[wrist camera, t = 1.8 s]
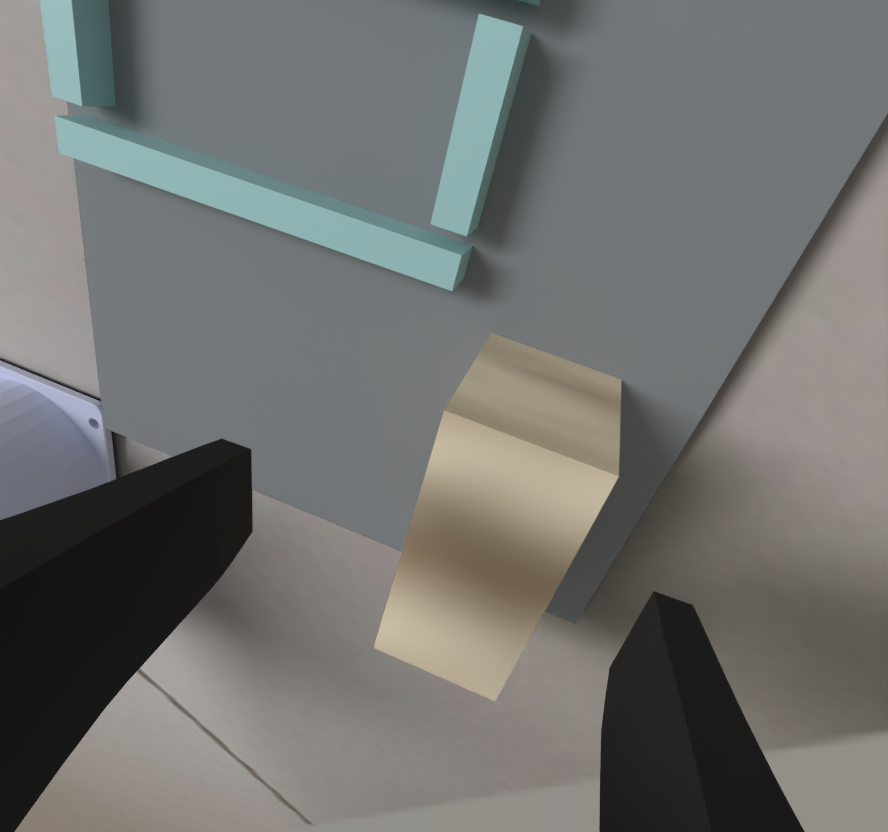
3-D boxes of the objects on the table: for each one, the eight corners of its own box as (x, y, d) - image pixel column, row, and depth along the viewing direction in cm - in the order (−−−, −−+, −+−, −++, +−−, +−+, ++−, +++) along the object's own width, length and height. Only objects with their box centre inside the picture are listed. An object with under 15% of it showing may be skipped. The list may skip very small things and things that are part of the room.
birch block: (522, 581, 21) (495, 701, 16) (424, 540, 21) (373, 647, 17) (621, 379, 16) (618, 476, 12) (491, 332, 16) (444, 410, 12)
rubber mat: (576, 611, 21) (575, 623, 21) (115, 420, 24) (103, 427, 23) (957, -22, 11) (974, -29, 10) (48, -251, 13) (25, -266, 13)
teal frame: (463, 279, 16) (452, 291, 15) (92, 150, 17) (59, 153, 16) (554, -50, 12) (547, -65, 11) (60, -183, 13) (13, -207, 12)
